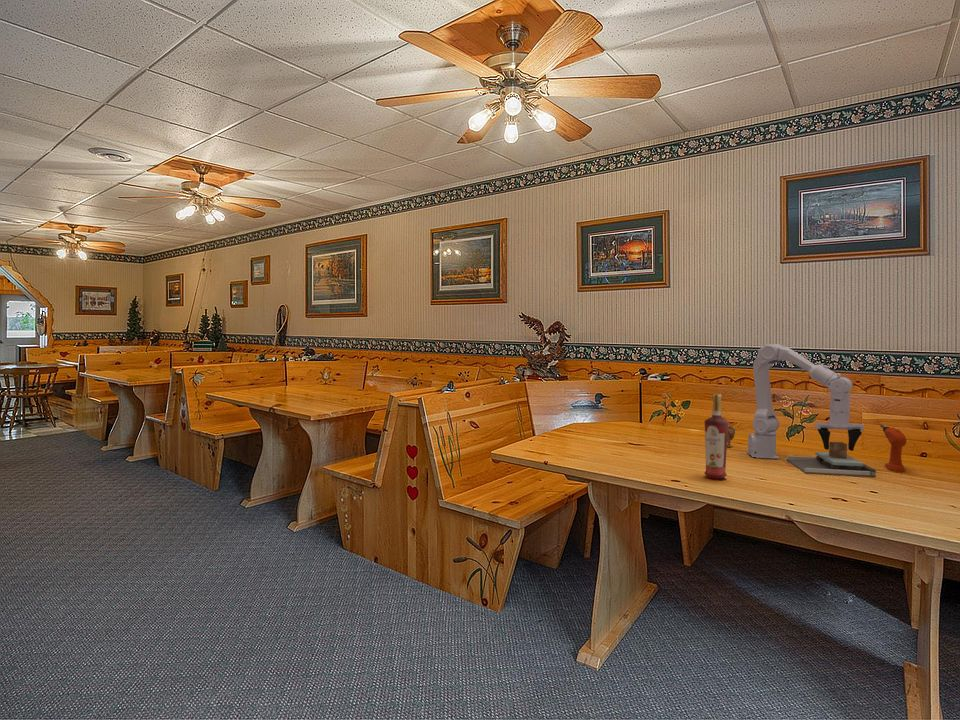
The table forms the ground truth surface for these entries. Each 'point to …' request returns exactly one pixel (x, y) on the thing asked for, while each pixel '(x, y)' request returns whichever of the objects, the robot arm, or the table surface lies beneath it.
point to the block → (838, 450)
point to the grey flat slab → (839, 461)
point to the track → (828, 467)
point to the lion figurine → (730, 434)
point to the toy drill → (895, 448)
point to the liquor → (716, 442)
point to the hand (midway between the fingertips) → (838, 449)
